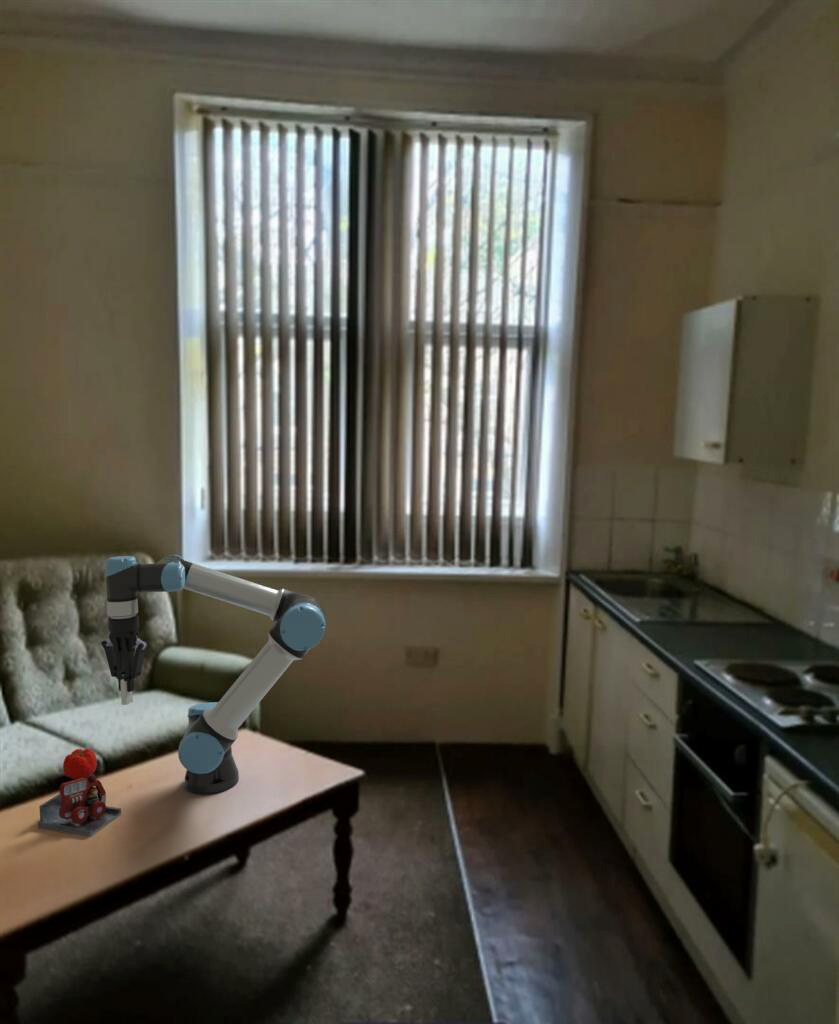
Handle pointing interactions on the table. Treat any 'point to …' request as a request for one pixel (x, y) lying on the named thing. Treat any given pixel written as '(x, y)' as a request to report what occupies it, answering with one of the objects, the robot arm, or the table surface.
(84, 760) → the tomato
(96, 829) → the grey l-shaped tray
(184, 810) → the table surface
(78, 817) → the toy fire truck
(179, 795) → the table surface
